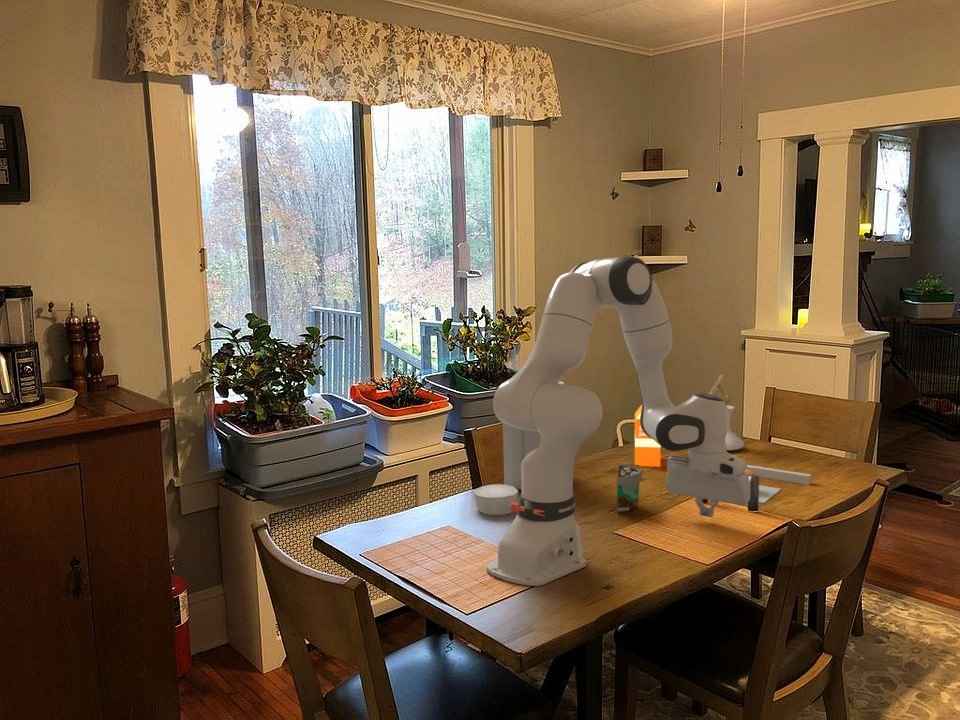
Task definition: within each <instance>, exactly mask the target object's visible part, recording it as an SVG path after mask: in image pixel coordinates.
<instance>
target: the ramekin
mask: <svg viewBox="0 0 960 720" xmlns="http://www.w3.org/2000/svg"><path fill="white" fill-rule="evenodd" d="M473 494H474V497H475V501H476V507H477V510H478V511H479V512H480V513H481V512H482V513H481V514H483V513H484V514H483V515H486V514H488V515H487V516H492V515H498V516H505V514H506V515H509V514H511V513H512V512H511V510H510V505H511V503H512V502H515V503H517V499H518V495H519V489H516V488H515V487H512V486H509V485H504V484H487V485H482V486H480V487H478V488H476V489H475V490H474V491H473Z"/></svg>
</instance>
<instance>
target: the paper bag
mask: <svg viewBox="0 0 960 720" xmlns="http://www.w3.org/2000/svg"><path fill="white" fill-rule="evenodd" d="M558 384H565V382H564V381H561V380H560V381H559V383H558ZM502 431H503V432H502V433H503V435H502V436H503V438H502V439H503V441H502V442H503V481H504V482H503V483H504V484H503V485H509V486H512V487H515V488H517V490H522V476H521V464H522V461H523V459H524V458H525V456H526V455H527V454H528V453H530V452H531V451H533V450H535V449H537V448H539V445H540V441H541V434H540V433H539V432H533V431H527V430H521V429H517V428H514V427H512V426H509V425H507V424H505V423H503V422H502Z"/></svg>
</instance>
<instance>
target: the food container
mask: <svg viewBox="0 0 960 720" xmlns="http://www.w3.org/2000/svg"><path fill="white" fill-rule="evenodd" d="M616 477H617V478H616V483H617V484H616V487H617V490H616V492H617V493H616V494H617V495H616V497H617V498H616V501H617V502H616V507H617V509H616V512H617V514H618V515H624V514H631V513H634V512H636V511H638V508H639V507H638V505H639V496H640V495H639V493H640V482H642V481H643V476H642V472H641V469H640V468H638V466H635V465H634V466H633V465H630V464H629V465H628V464H623V463H622V464H621V463H619V464H618V474H617V476H616Z"/></svg>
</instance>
